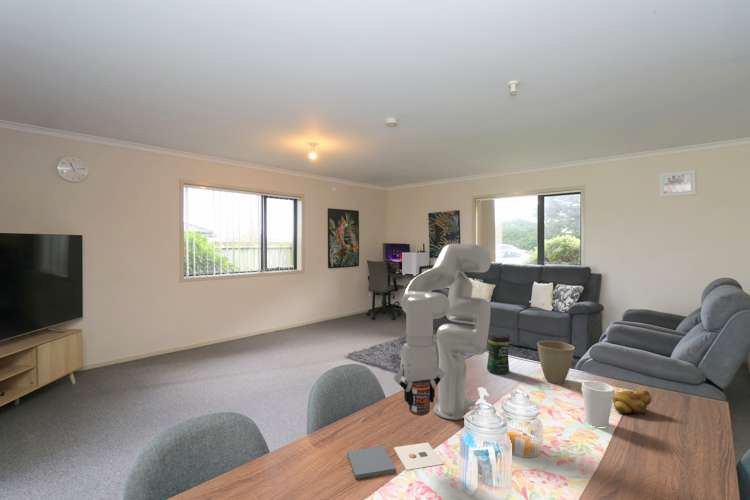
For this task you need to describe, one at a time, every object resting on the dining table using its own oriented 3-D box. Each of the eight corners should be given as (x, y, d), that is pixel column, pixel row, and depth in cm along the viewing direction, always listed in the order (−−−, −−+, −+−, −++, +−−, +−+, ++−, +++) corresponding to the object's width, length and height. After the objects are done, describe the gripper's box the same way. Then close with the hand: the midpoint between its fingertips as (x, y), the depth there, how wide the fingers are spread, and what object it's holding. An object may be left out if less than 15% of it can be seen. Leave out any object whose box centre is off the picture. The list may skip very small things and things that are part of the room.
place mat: (383, 449, 107) (383, 445, 107) (395, 472, 97) (395, 468, 97) (347, 454, 104) (347, 451, 104) (355, 478, 94) (355, 475, 94)
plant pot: (580, 387, 155) (581, 350, 155) (545, 386, 155) (546, 349, 155) (563, 374, 170) (563, 340, 170) (531, 374, 170) (531, 340, 170)
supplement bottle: (416, 418, 101) (416, 378, 100) (405, 409, 106) (404, 371, 105) (434, 413, 103) (434, 374, 103) (422, 404, 109) (422, 367, 108)
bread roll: (626, 418, 128) (626, 395, 128) (602, 406, 138) (603, 385, 137) (654, 414, 131) (655, 392, 131) (629, 402, 141) (629, 382, 141)
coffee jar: (493, 375, 168) (494, 335, 168) (484, 369, 176) (485, 331, 175) (512, 373, 171) (512, 334, 170) (502, 368, 178) (502, 330, 178)
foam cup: (577, 423, 124) (578, 385, 123) (584, 414, 131) (585, 378, 130) (610, 434, 117) (611, 394, 117) (615, 423, 124) (616, 385, 124)
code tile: (427, 442, 111) (427, 442, 111) (444, 463, 100) (444, 463, 100) (393, 447, 108) (393, 447, 108) (406, 470, 98) (406, 469, 98)
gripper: (441, 333, 110) (441, 392, 110) (386, 338, 105) (386, 400, 106) (453, 341, 102) (453, 403, 103) (395, 346, 98) (395, 412, 99)
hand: (419, 401), depth 105 cm, fingers closed on supplement bottle, 6 cm apart
